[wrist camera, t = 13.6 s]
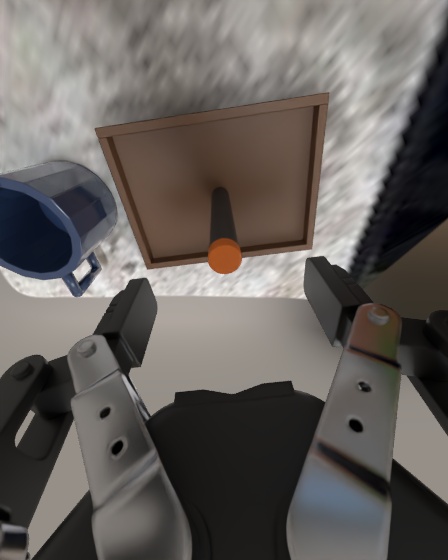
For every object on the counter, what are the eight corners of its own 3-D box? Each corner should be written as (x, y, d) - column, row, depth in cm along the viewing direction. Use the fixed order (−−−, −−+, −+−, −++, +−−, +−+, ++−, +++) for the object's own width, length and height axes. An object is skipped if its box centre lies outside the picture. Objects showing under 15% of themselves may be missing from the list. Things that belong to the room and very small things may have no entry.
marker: (210, 187, 26) (205, 246, 13) (228, 185, 26) (240, 242, 13) (212, 206, 27) (210, 276, 15) (230, 204, 27) (243, 272, 14)
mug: (14, 167, 24) (-74, 186, 17) (97, 155, 24) (43, 169, 17) (73, 267, 32) (30, 311, 24) (137, 259, 31) (113, 301, 24)
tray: (102, 128, 23) (94, 128, 21) (321, 94, 22) (329, 92, 20) (150, 262, 31) (147, 269, 30) (307, 242, 30) (312, 249, 29)
